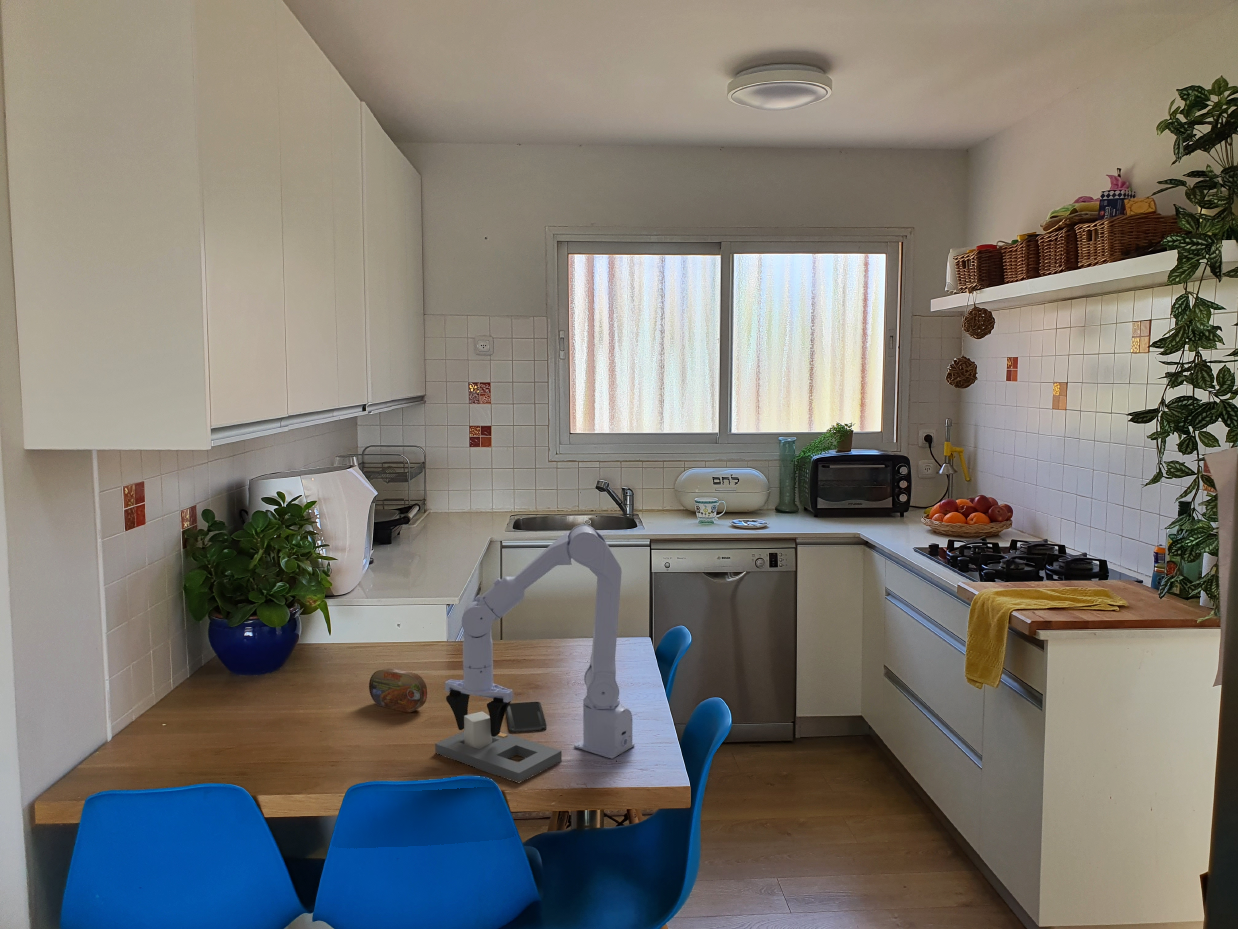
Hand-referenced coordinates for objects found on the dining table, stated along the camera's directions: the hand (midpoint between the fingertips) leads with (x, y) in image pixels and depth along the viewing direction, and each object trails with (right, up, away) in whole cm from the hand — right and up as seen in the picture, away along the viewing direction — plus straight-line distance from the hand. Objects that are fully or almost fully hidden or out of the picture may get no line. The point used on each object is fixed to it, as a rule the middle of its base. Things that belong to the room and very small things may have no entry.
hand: (479, 731), depth 174 cm
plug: (0, -4, 0) cm, 4 cm away
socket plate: (+4, -4, -3) cm, 6 cm away
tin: (-22, -2, +23) cm, 32 cm away
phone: (+7, -3, +17) cm, 19 cm away
